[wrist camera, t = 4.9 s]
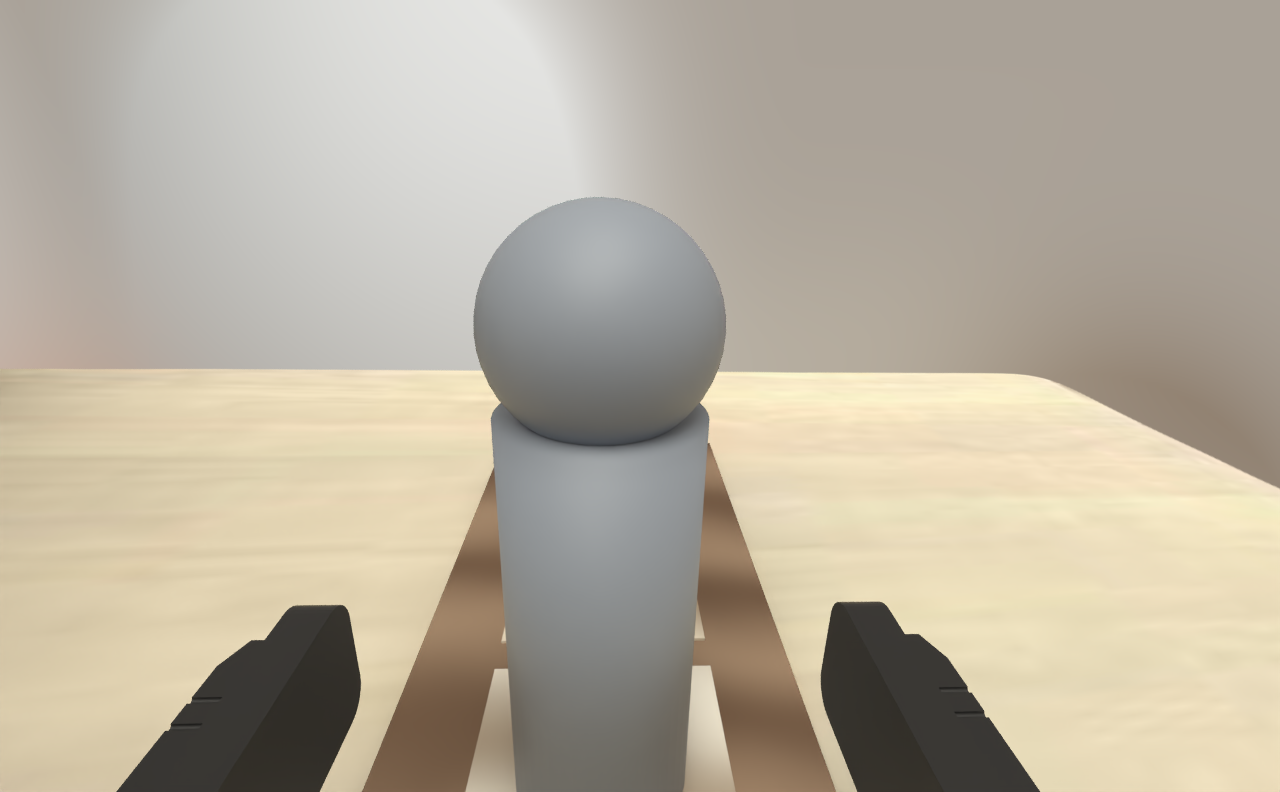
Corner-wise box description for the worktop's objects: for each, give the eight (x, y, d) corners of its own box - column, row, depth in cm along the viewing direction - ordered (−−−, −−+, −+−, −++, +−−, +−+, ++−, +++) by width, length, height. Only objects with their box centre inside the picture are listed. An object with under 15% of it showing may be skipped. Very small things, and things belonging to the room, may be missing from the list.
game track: (897, 993, 12) (904, 972, 12) (282, 1021, 11) (275, 998, 11) (708, 452, 35) (709, 441, 35) (504, 452, 35) (503, 441, 35)
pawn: (481, 739, 16) (430, 191, 11) (630, 669, 19) (641, 193, 14) (556, 912, 13) (528, 203, 8) (730, 795, 15) (794, 202, 10)
